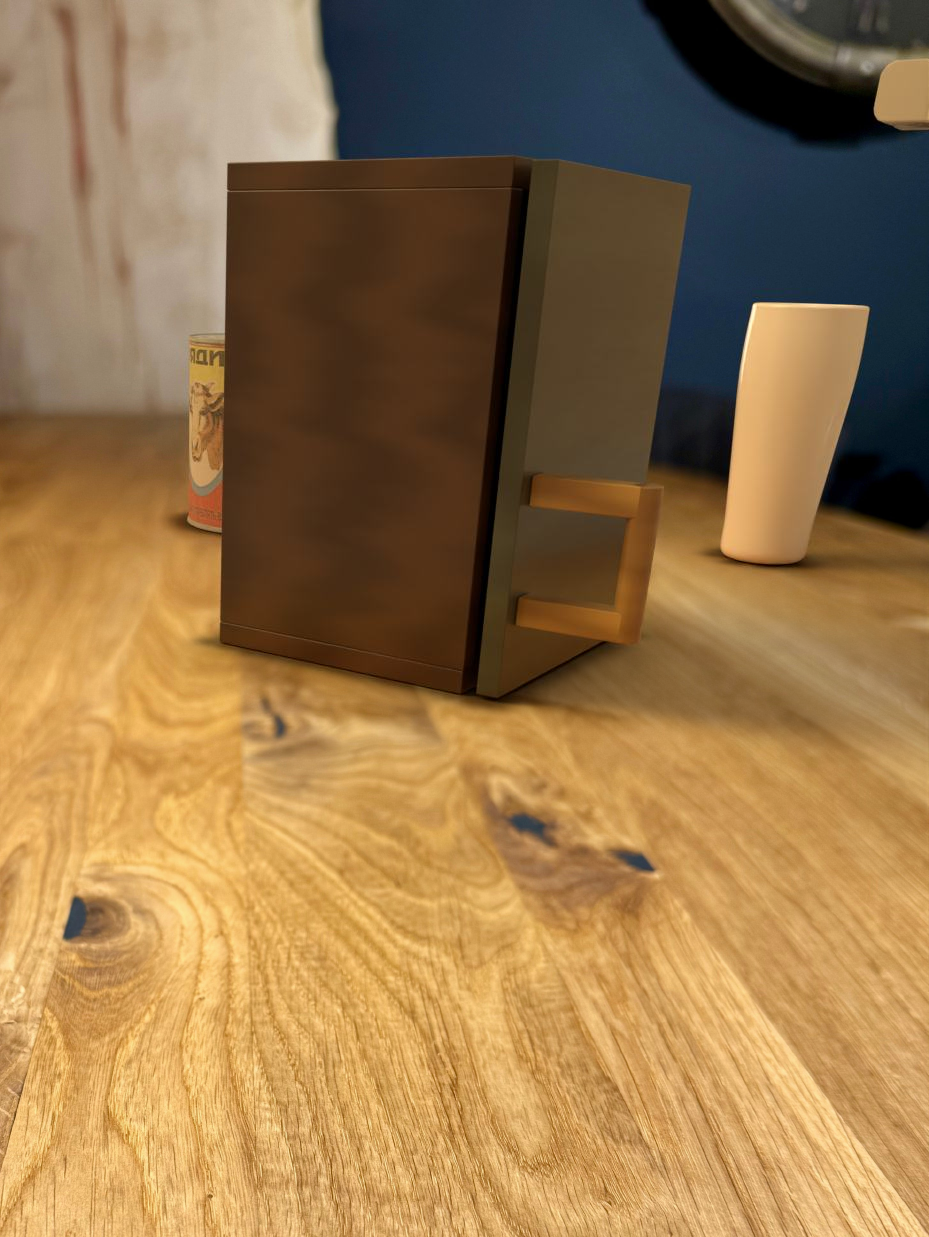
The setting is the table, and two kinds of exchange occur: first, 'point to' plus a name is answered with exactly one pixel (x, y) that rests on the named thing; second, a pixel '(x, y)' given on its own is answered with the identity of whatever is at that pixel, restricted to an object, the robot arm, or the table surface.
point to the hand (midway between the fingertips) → (886, 96)
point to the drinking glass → (788, 424)
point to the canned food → (206, 430)
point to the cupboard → (367, 407)
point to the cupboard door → (581, 419)
